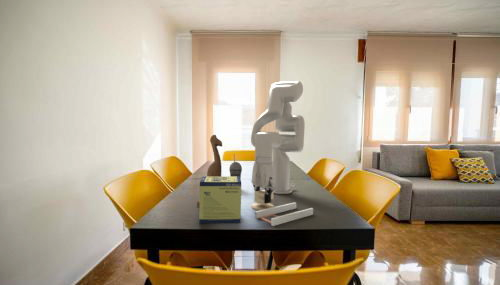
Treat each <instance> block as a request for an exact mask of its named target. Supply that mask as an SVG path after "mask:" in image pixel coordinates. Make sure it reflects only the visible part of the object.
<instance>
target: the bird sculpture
mask: <svg viewBox="0 0 500 285" xmlns="http://www.w3.org/2000/svg"><path fill="white" fill-rule="evenodd" d="M209 142H210V145H211V148H212V154H213V161H212V162H211V164H209V166H208V167H207V170H206V171H207V172H206V176H208V177H222V159H221V156H220V152H219V149H218V147H223V142H222V140H221V139H219V138H218V137H217V135H216V134H213V135H212V136H210V140H209ZM196 205H197V207H199V200H197V201H196Z"/></svg>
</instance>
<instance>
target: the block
mask: <svg viewBox="0 0 500 285" xmlns="http://www.w3.org/2000/svg"><path fill="white" fill-rule="evenodd" d="M265 194H266V193H265V189H262V190H261V189H260V190H259V191H255V190H254V203H260V204H262V205H264V204H269V203H264V200H265ZM274 194H275V193H274V192H272V194H271V202H270V204H273V203H274V198H275V197H274Z"/></svg>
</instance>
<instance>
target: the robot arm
mask: <svg viewBox="0 0 500 285" xmlns="http://www.w3.org/2000/svg"><path fill="white" fill-rule="evenodd" d="M303 92H304V85H303V83H302V82H301V81H300V80H292V81H278V82H274V83H272V84H271V85H270V89H269V92H268V96H267V101H266V107H265V111H264V112H263V113H262V114H261V115H259V117H257V119H256V121H255V122H254V124H253V127H252V131H251V136H250V144H251V145H252V146H253V147H254V162H253V167H252V173H251V174H252V175H251V184H252V186H253V191H254V192H255V191H259V190H261V189H262V188H263V189H264V190H265V193H266V194H265V200H264V203H270V202H271V194H272V192H274V194H276V195H278V194H279V195H288V194H291V193H293V189H292V188H293V187H295V186H296V184H295V182H292V183H290V176H291V175H290V173H291V172H290V168H291V166H290V165H291V159H290V157H289V156H288V154H287V153H301V152H302V151H303V150H304V145H305V144H304V143H305V142H304V141H305V129H306V128H305V127H306V126H305V124H306V123H305V118H304V116H303V115H299V114H292V108H293V107H292V105H291V104H292V103H295V102H297V101H298V100H299V99H300V98H301V96H302V95H303ZM273 122H275V123H274V124H275V125H274V126H275V127H274V128H275V129H276V131H277V132H276V131H261V130H262V129H263V128H264V127H265V126H266V125H268V124H270V123H273ZM279 132H280V133H279ZM281 133H282V134H281ZM283 133H284V134H283ZM285 133H288V134H285ZM289 133H295V134H289ZM270 204H271V203H270Z"/></svg>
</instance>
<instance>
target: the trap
mask: <svg viewBox="0 0 500 285" xmlns="http://www.w3.org/2000/svg"><path fill="white" fill-rule="evenodd" d="M279 216H280V215H276V214H271V215H267V216H263V217H259V218H258V219H260V220H263V221H265V222H266V223H269V224H271V218H275V217H279Z"/></svg>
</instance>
